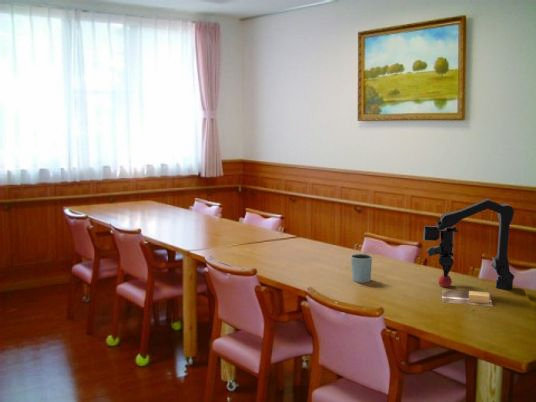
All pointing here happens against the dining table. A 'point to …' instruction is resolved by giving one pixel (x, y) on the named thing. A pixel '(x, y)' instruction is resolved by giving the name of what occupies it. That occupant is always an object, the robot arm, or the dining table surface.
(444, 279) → the onion
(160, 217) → the dining table surface
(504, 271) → the robot arm
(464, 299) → the board
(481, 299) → the light orange rectangular block
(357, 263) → the grey blue cup
